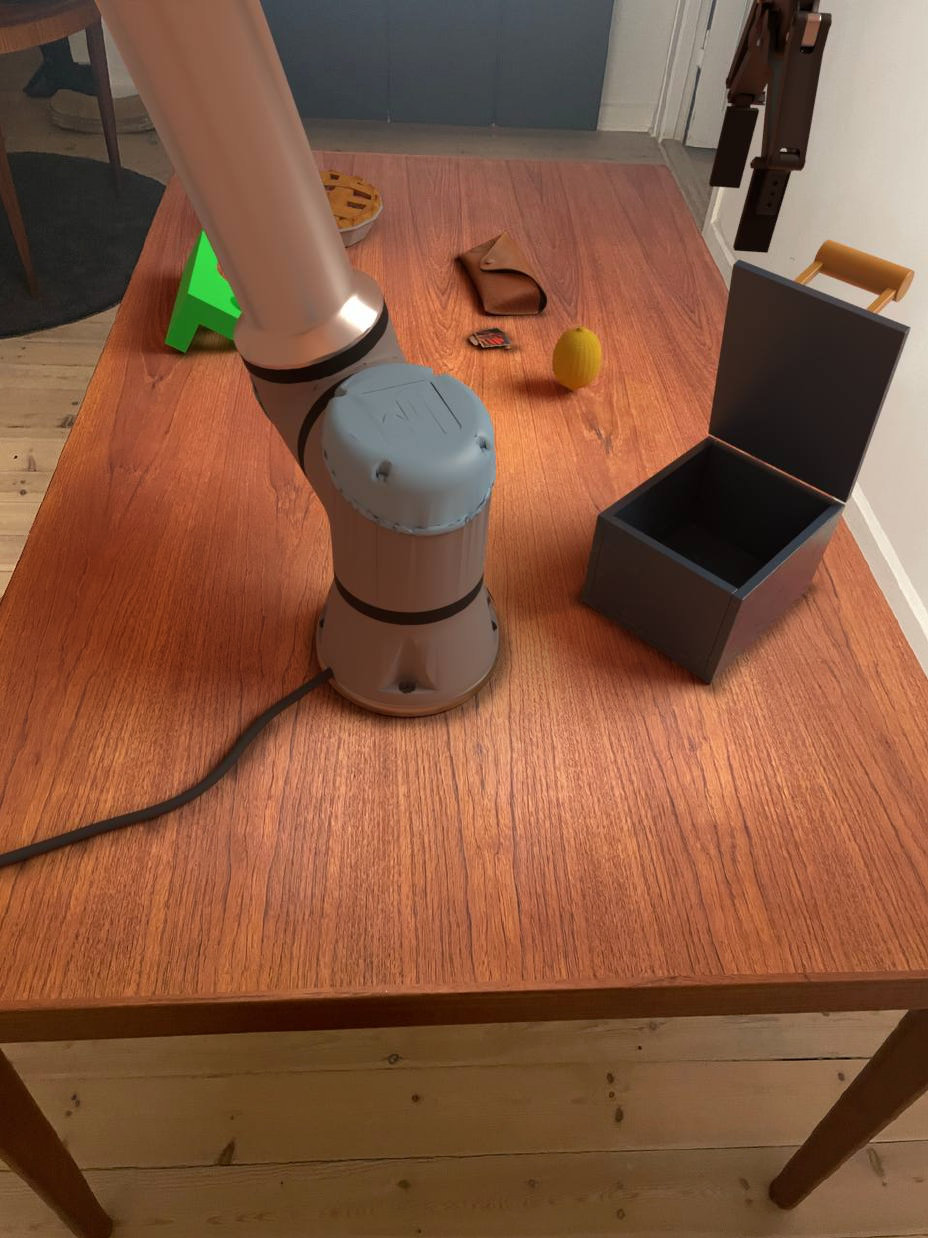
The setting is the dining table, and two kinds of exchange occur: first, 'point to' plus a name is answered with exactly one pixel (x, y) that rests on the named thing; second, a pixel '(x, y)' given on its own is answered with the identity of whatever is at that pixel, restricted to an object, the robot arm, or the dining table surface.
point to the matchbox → (490, 338)
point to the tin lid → (808, 366)
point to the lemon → (577, 358)
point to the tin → (707, 555)
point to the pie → (351, 204)
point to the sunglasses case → (504, 278)
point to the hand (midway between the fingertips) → (736, 216)
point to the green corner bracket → (202, 299)
